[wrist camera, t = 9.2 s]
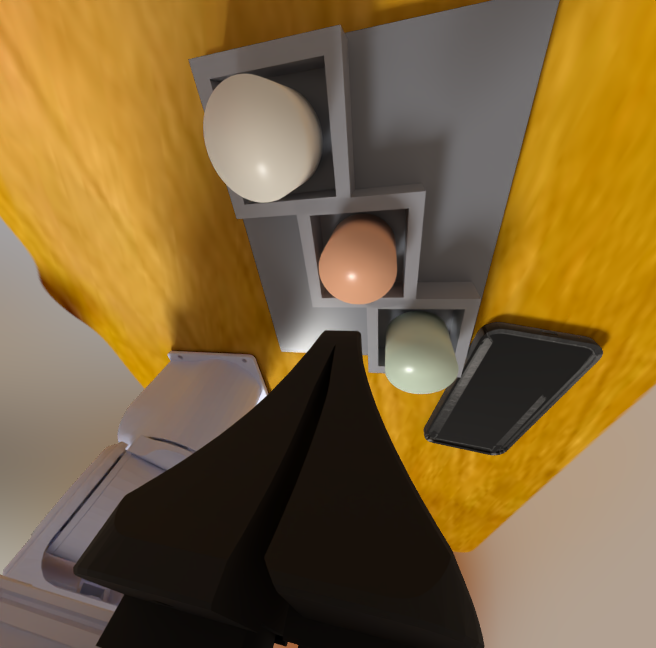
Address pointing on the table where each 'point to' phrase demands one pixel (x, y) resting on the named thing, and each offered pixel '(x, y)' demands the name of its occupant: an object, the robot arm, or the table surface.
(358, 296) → the terracotta key
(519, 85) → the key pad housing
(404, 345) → the pale green rounded block
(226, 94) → the ivory key
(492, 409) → the phone
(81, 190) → the table surface
